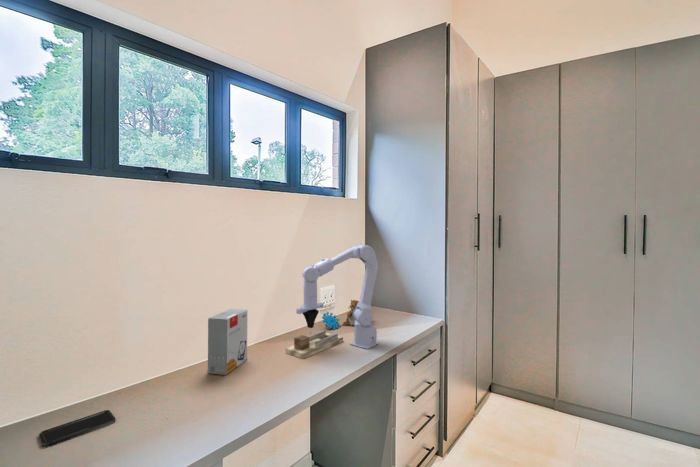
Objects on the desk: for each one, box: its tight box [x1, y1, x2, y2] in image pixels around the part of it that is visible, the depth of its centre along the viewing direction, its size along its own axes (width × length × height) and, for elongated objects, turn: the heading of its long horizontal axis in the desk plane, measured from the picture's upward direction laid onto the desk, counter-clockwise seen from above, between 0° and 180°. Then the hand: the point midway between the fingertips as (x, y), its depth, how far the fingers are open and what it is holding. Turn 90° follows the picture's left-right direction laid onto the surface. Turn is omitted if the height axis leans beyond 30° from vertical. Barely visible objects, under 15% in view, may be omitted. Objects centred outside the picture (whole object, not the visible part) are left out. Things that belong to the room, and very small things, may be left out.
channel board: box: [285, 330, 344, 360], centre depth 151 cm, size 10×26×4 cm, turn 143°
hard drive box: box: [207, 308, 248, 376], centre depth 131 cm, size 16×8×20 cm, turn 168°
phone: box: [38, 409, 116, 448], centre depth 91 cm, size 8×1×15 cm
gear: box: [321, 311, 341, 330], centre depth 180 cm, size 11×6×10 cm
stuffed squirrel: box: [341, 299, 359, 326], centre depth 186 cm, size 10×14×13 cm
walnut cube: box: [293, 334, 309, 351], centre depth 145 cm, size 4×4×4 cm
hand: (310, 327), depth 149 cm, fingers closed
